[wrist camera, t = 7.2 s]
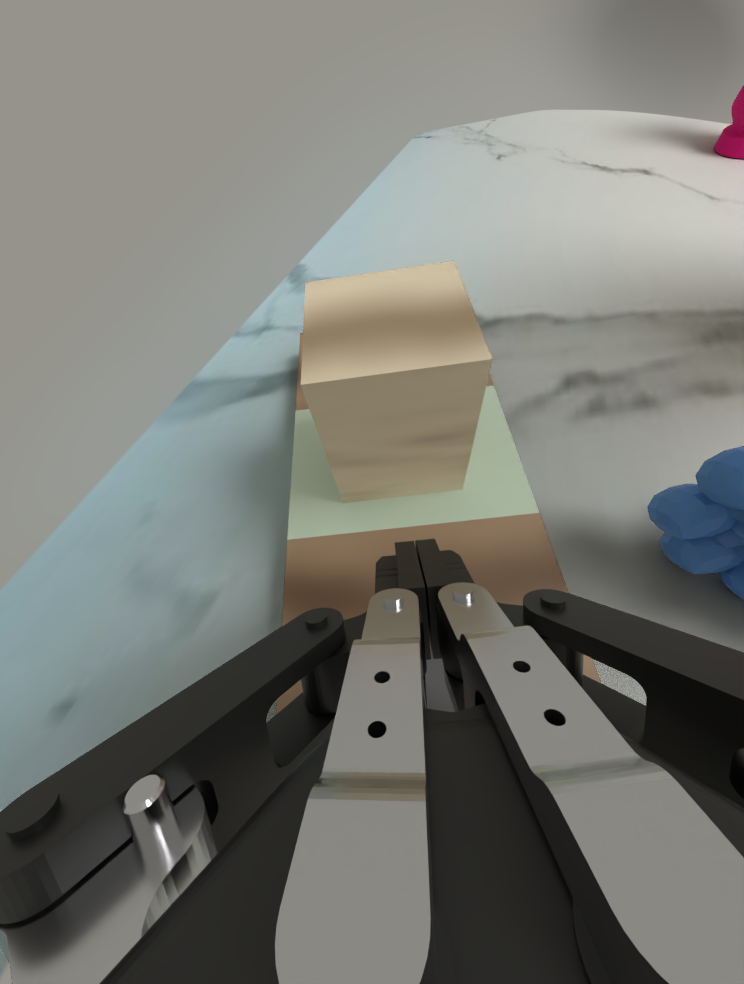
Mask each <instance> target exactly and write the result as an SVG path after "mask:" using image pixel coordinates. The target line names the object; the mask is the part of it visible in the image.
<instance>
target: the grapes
mask: <svg viewBox="0 0 744 984" xmlns="http://www.w3.org/2000/svg"><path fill="white" fill-rule="evenodd" d="M696 479H697V483H698V484H684V485H679V486H674V487H670V488H668V489H666V490H664V491H662V492H660V493H658V494H657V495H655V496H654V497H653V499H652V500H651V502H650V504H649V505H648V512H649V516H650V519H651V520H652V521H653V522H654V523H655V524H656V525H657V526H658V527H659V528H660V529H661V530H663V531H665V533H664V535H663V536H662V538H661V539H660V545H661V549H662V552H663V553H664V554H665V555H666V556H667V557H668V559H669V560H670V561H671V562H672V563H674V564H676V565H677V566H679V567H681V568H682V569H684V570H686V571H688V572H690V573H692V574H708V573H715V572H720V575H721V580H722V582H723V583H724V584H725V585H726V586H727V587H728V588H729V589H730V590H731V591H732V592H733V593H734V594H735V595H737V596H739V597H740V598H742V599H744V446H742V447H738V448H733V449H729V450H725V451H723V452H721V453H719V454H717V455H715V456H714V457H712V458H710V459H708V460H706V461H705V462H704V463H703V465H702V466H701V468H700V469H699V471H698V472H697V474H696Z"/></svg>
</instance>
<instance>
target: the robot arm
mask: <svg viewBox="0 0 744 984" xmlns="http://www.w3.org/2000/svg"><path fill="white" fill-rule="evenodd" d="M415 547H416V548H415ZM395 552H396V555H391V556H382V557H381V558H380V559H379V560H378V561H377V562H376V572H375V595H373V596H372V597H371V599H370V601H369V604H368V609H367V611H366V612H365V613H363V614H361V615H359V616H356V617H353V618H350V619H346V620H343V616H342V614H341V613H340V612H339V611H338V610H336V609H333V608H316V609H312V610H309V611H307V612H304V613H302V614H301V615H299V616H298V617H296V618H294V619H293V620H291V621H290V622H288V623H287V624H285V625H284V626H282V627H281V628H279V629H277V630H276V631H274V632H273V633H271V634H270V635H268V636H267V637H265V638H263V639H262V640H260V641H259V642H257V643H256V644H254V645H253V646H251V647H250V648H248V649H246V650H245V651H243V652H242V653H240V654H239V655H237V656H236V657H234V658H233V659H231V660H229V661H228V662H226V663H225V664H223V665H222V666H220V667H219V668H217V669H215V670H214V671H212V672H211V673H209V674H208V675H206V676H205V677H203V678H202V679H200V680H198V681H197V682H195V683H194V684H192V685H191V686H189V687H188V688H186V689H185V690H183V691H181V692H180V693H178V694H177V695H175V696H174V697H172V698H171V699H169V700H167V701H166V702H164V703H163V704H161V705H160V706H158V707H157V708H155V709H154V710H152V711H150V712H149V713H147V714H146V715H144V716H143V717H141V718H140V719H138V720H137V721H135V722H133V723H132V724H130V725H129V726H127V727H126V728H124V729H123V730H121V731H119V732H118V733H116V734H115V735H113V736H112V737H110V738H109V739H107V740H106V741H104V742H102V743H101V744H99V745H98V746H96V747H95V748H93V749H92V750H90V751H89V752H87V753H85V754H84V755H82V756H81V757H79V758H78V759H76V760H75V761H73V762H71V763H70V764H68V765H67V766H65V767H64V768H62V769H61V770H59V771H58V772H56V773H54V774H53V775H51V776H50V777H48V778H47V779H45V780H44V781H42V782H41V783H39V784H37V785H36V786H34V787H33V788H31V789H30V790H28V791H27V792H25V793H24V794H22V795H21V796H20V797H18V798H17V799H16V800H14V801H13V802H12V803H11V804H9V805H8V806H7V807H6V808H5V809H4V810H3V811H1V812H0V947H1V949H2V950H3V952H4V954H5V956H6V958H7V960H8V962H9V963H10V968H11V978H12V984H744V653H743V652H740V651H737V650H734V649H731V648H728V647H725V646H722V645H719V644H716V643H713V642H710V641H707V640H705V639H702V638H699V637H696V636H693V635H690V634H687V633H684V632H681V631H678V630H675V629H672V628H669V627H666V626H663V625H660V624H657V623H654V622H651V621H649V620H646V619H643V618H640V617H637V616H634V615H631V614H628V613H625V612H622V611H619V610H616V609H613V608H610V607H607V606H604V605H601V604H598V603H595V602H593V601H590V600H587V599H584V598H581V597H578V596H575V595H572V594H569V593H566V592H563V591H558V590H552V589H539V590H534V591H531V592H529V593H527V594H526V595H525V596H524V597H523V606H522V605H512V604H503V603H499V602H495V600H494V599H493V597H492V596H491V595H490V593H489V592H488V591H487V590H486V589H485V588H483V587H482V586H479V585H477V584H475V583H474V581H473V579H472V577H471V575H470V573H469V572H468V570H467V568H466V566H465V564H464V563H463V560H462V558H461V557H460V555H459V554H457V553H455V552H454V551H452V550H444V551H440V550H439V547H438V545H437V542H436V540H435V538H434V539H423V540H415V544H414V540H413V541H403V542H395ZM430 644H431V649H432V654H433V659H441V658H442V660H443V666H444V679H445V683H446V686H447V689H448V692H449V695H450V698H451V701H452V704H453V707H454V710H455V712H447V711H440V710H434V709H428V706H427V691H426V678H425V674H426V671H427V663H426V660H430V659H431V651H430ZM584 655H586V656H588V657H590V658H593V659H595V660H597V661H599V662H601V663H603V664H606V665H608V666H610V667H612V668H614V669H617V670H619V671H621V672H623V673H625V674H627V675H629V676H631V677H632V678H634V679H635V680H636V681H637V682H638V683H639V684H640V685H641V686H642V687H643V689H644V691H645V693H646V696H647V703H646V706H645V705H643V704H641V703H639V702H637V701H635V700H633V699H631V698H629V697H627V696H625V695H623V694H621V693H619V692H617V691H615V690H613V689H611V688H609V687H607V686H605V685H603V684H601V683H599V682H597V681H595V680H593V679H591V678H589V677H587V676H585V675H583V657H584ZM299 680H301V684H302V689H303V692H302V693H301V694H300V695H299V696H298V697H296V698H295V699H294V700H293V701H292V702H291V703H289V704H288V705H287V706H286V707H285V708H284V709H282V710H281V711H280V712H279V713H278V714H277V715H275V716H274V717H273V718H272V719H271V720H270V721H268V722H267V723H266V717H267V714H268V711H269V709H270V707H271V705H272V704H273V703H274V702H275V700H277V699H278V698H279V697H280V696H281V695H282V694H284V693H285V692H286V691H287V690H289V689H290V688H291V687H292V686H293V685H295V684H296V683H297V682H298V681H299Z"/></svg>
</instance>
